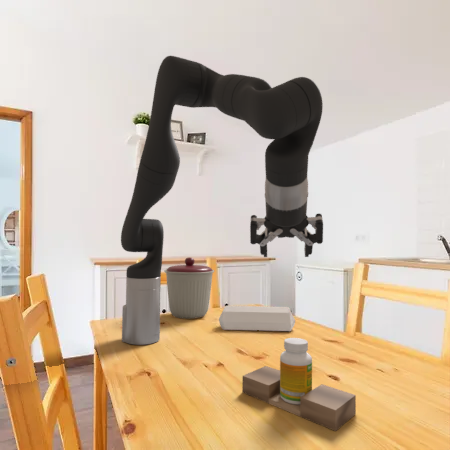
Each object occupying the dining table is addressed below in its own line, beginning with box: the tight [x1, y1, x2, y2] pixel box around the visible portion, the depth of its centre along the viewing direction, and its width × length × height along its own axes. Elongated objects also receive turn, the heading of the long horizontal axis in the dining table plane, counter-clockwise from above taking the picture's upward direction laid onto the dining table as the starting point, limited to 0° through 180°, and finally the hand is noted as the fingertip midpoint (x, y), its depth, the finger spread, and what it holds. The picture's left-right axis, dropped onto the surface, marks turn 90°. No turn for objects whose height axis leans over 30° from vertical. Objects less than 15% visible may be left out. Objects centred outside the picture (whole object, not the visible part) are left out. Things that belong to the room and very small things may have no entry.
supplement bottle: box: [279, 337, 313, 405], centre depth 59 cm, size 5×5×10 cm
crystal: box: [218, 305, 296, 332], centre depth 109 cm, size 7×7×24 cm
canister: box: [164, 257, 215, 320], centre depth 125 cm, size 18×18×21 cm
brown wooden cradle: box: [241, 365, 357, 432], centre depth 59 cm, size 7×18×3 cm, turn 46°
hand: (285, 254), depth 73 cm, fingers open, 8 cm apart
